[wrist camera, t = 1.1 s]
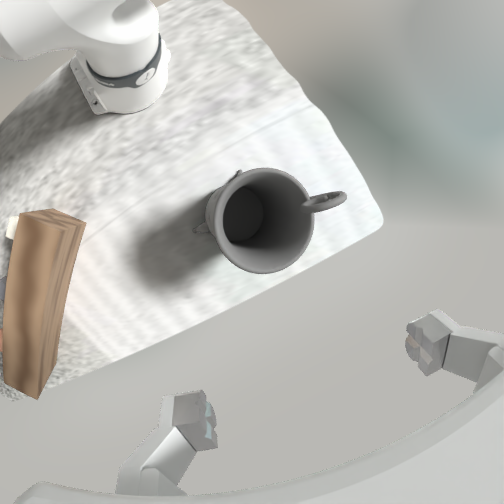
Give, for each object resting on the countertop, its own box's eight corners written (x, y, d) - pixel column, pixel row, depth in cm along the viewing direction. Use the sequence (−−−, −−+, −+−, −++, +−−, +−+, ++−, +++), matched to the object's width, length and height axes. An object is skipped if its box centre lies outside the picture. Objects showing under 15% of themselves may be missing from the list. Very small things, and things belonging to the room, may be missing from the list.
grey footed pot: (207, 266, 55) (239, 318, 31) (177, 194, 51) (184, 192, 27) (292, 227, 58) (370, 249, 35) (267, 159, 54) (338, 137, 31)
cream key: (13, 234, 38) (5, 236, 35) (17, 215, 37) (10, 217, 34) (34, 244, 39) (27, 247, 37) (39, 225, 39) (32, 227, 36)
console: (27, 349, 46) (3, 382, 33) (52, 208, 44) (19, 213, 31) (56, 363, 49) (37, 399, 36) (86, 222, 47) (60, 231, 33)
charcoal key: (3, 292, 38) (-4, 297, 35) (5, 276, 38) (-2, 280, 35) (24, 303, 40) (18, 308, 37) (26, 287, 40) (20, 292, 37)
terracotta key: (1, 341, 39) (-5, 348, 36) (1, 328, 39) (-5, 334, 36) (20, 352, 41) (15, 359, 38) (21, 339, 41) (15, 345, 38)
